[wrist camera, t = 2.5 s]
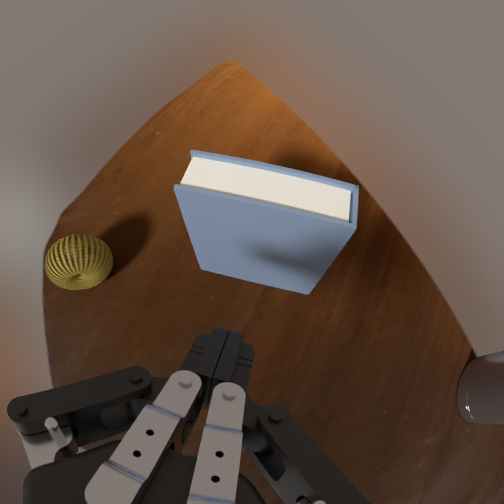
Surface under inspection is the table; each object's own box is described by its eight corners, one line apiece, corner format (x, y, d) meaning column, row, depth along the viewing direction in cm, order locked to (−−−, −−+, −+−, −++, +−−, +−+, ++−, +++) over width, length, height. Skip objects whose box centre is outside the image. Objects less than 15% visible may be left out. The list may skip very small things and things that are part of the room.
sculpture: (119, 250, 33) (92, 216, 26) (126, 280, 31) (96, 252, 24) (65, 271, 31) (30, 244, 24) (69, 301, 30) (32, 279, 23)
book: (210, 241, 34) (191, 149, 20) (313, 265, 33) (358, 185, 19) (200, 269, 32) (173, 187, 19) (308, 294, 32) (356, 228, 18)
